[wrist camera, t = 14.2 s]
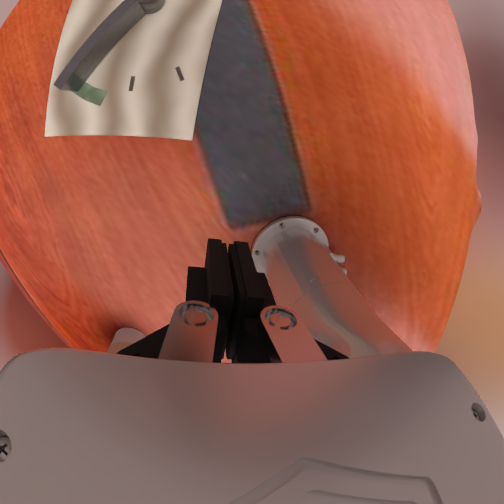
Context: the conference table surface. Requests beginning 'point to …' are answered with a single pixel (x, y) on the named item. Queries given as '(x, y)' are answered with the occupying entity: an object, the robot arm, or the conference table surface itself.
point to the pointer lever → (103, 41)
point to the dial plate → (135, 72)
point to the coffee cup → (124, 339)
